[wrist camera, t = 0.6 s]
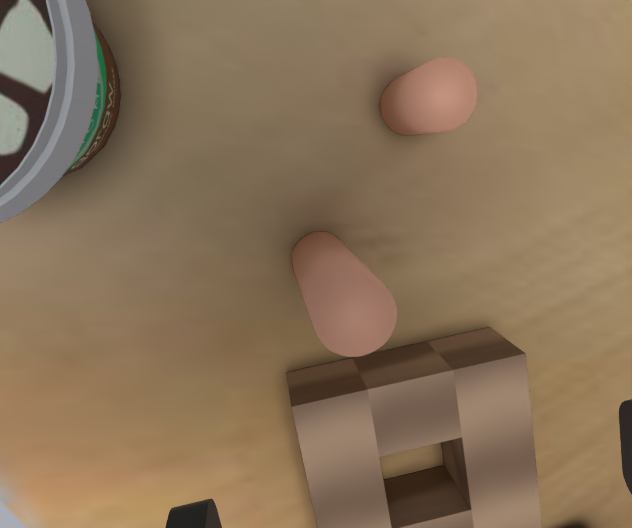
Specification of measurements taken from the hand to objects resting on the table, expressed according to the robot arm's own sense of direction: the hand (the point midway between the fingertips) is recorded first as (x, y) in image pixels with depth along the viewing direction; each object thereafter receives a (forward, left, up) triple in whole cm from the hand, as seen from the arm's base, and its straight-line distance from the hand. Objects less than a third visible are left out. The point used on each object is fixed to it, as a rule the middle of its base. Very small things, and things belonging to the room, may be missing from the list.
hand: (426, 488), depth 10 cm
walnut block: (+11, +3, -19) cm, 22 cm away
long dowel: (-1, 0, -19) cm, 19 cm away
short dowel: (-8, +6, -19) cm, 21 cm away
